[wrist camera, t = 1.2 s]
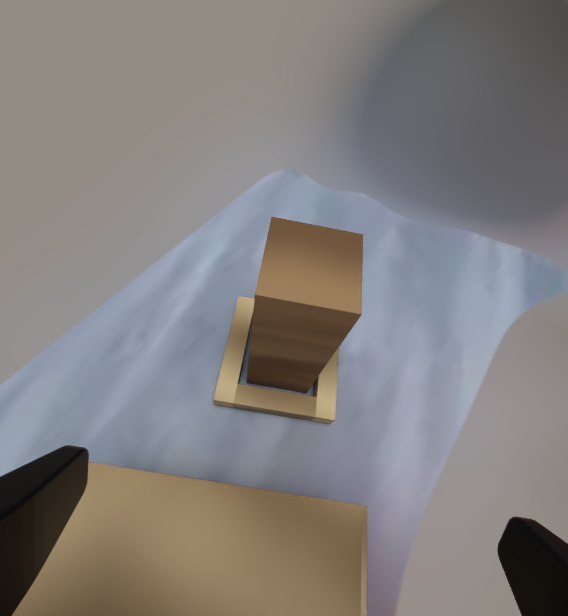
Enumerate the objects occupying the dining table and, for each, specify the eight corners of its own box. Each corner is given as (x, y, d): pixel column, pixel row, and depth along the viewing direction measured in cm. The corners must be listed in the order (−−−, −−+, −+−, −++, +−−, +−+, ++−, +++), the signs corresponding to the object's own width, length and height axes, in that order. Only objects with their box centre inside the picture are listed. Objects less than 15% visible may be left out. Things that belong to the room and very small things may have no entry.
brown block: (306, 393, 22) (361, 314, 12) (246, 383, 21) (254, 294, 12) (311, 338, 24) (362, 234, 14) (257, 329, 23) (271, 216, 14)
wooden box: (305, 962, 11) (363, 1347, 6) (-44, 928, 11) (-294, 1317, 6) (339, 322, 24) (367, 277, 19) (180, 293, 24) (165, 239, 19)
